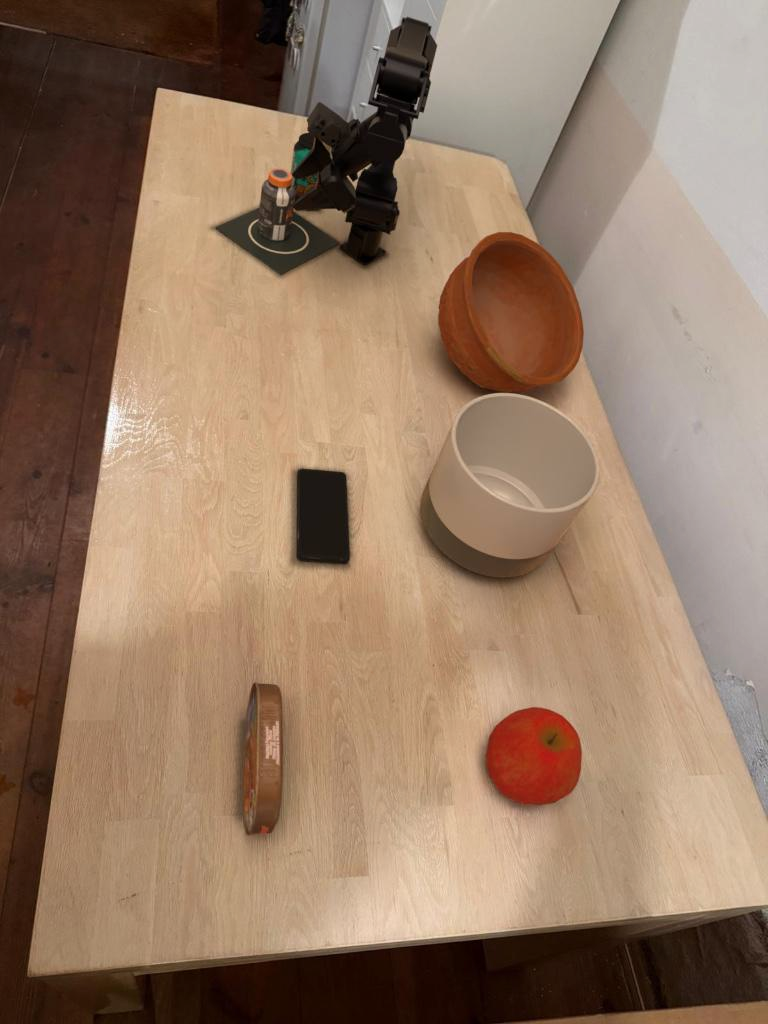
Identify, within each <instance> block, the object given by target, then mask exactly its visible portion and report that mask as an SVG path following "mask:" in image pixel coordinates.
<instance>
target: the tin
mask: <svg viewBox="0 0 768 1024" xmlns="http://www.w3.org/2000/svg"><path fill="white" fill-rule="evenodd" d="M248 699H249V700H248V703H247V704H248V705H247V709H246V718H245V733H244V734H245V737H244V770H243V771H244V772H243V806H242V809H243V827H244V831H245V834H246V835H247V836H251V835H267V834H271V833H272V832H273V831H274V829H275V827H276V825H277V824H278V821H279V818H280V815H281V806H282V798H283V797H282V796H283V776H284V775H283V769H284V767H283V765H284V764H283V762H284V760H283V759H284V757H283V756H284V755H283V754H284V753H283V752H284V749H283V745H284V744H283V740H284V739H283V737H284V735H283V734H284V733H283V700H282V692H281V688H280V687H279V685H277V684H275V683H258V682H253V683H252V686H251V688H250V692H249V698H248Z"/></svg>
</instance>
